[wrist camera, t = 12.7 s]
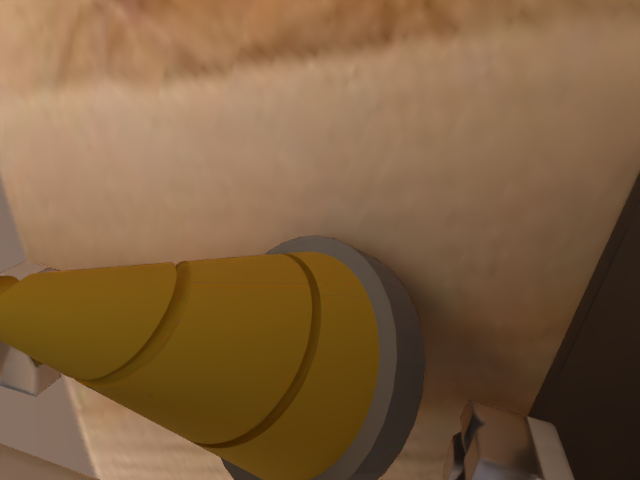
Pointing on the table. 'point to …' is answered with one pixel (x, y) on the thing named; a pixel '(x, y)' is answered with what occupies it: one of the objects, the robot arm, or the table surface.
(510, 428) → the robot arm
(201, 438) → the drill bit
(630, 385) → the chest
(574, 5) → the table surface
